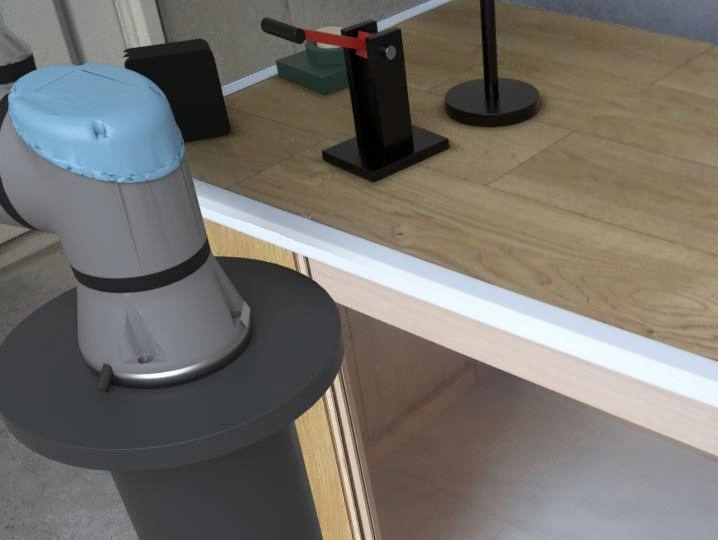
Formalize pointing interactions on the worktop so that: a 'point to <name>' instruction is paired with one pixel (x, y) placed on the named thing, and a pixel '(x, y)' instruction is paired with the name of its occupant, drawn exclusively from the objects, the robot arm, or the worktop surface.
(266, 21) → the switch lever
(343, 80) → the timer box
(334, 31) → the timer button
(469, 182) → the worktop surface
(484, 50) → the desk lamp
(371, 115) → the stand
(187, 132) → the electronic device
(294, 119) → the worktop surface
